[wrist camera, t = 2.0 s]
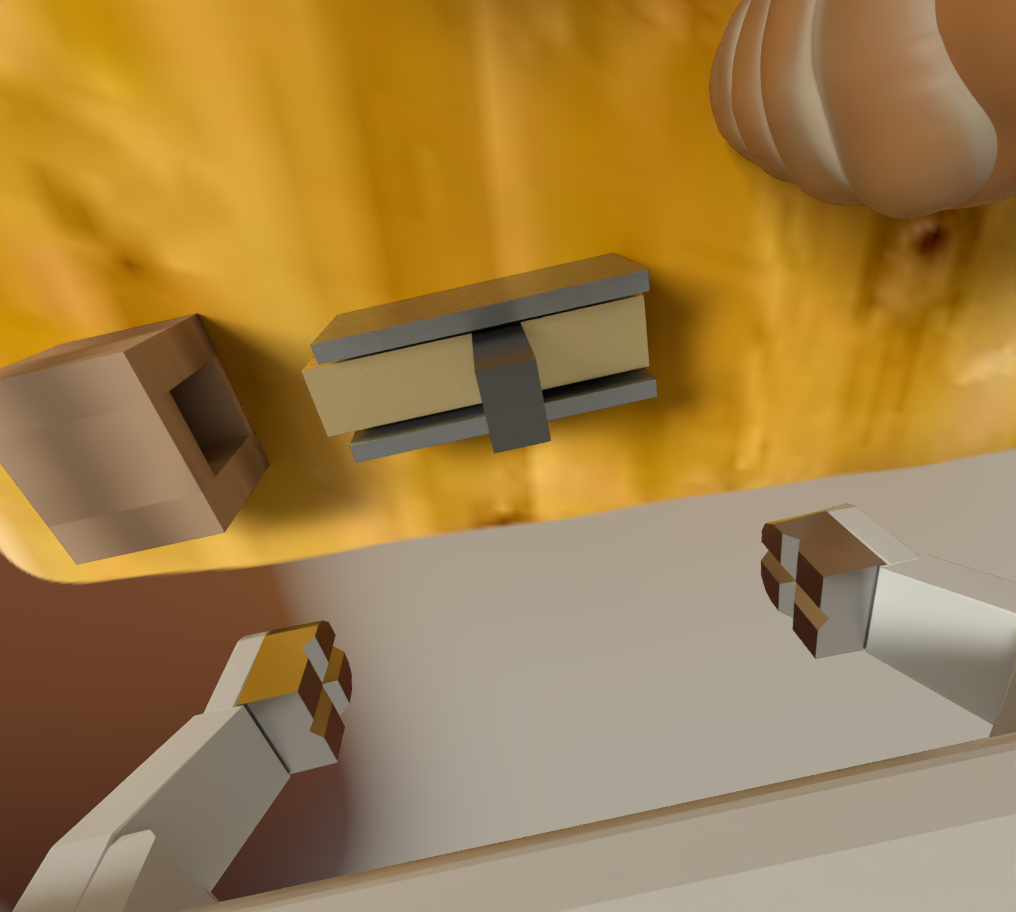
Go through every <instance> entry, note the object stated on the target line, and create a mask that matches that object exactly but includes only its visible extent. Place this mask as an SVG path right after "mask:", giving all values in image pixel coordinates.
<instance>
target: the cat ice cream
mask: <svg viewBox="0 0 1016 912" xmlns="http://www.w3.org/2000/svg"><path fill="white" fill-rule="evenodd" d="M709 93H710V101H711V107H712V111H713V114H714V117H715V120H716V123H717V127H718V130H719V131H720V133H721V134H722V136H723V137H725V138H726V139H727V141H728V142H729V144H730V146H731V147H732V148H734V149H735V150H736V151H737V152H738V153H739V154H741V155H742V156H743V157H744V158H746V159H748V160H749V161H751V162H753V163H756V164H758V165H759V166H760V167H761V168H762V169H763V170H764V171H765V172H766V173H768V174H769V175H771V176H772V177H774V178H776V179H779V180H782V181H786V182H793V183H797V185H798V186H799V187H800V188H801V189H802V190H803V191H804V192H805V193H806V194H808V195H810V196H812V197H814V198H816V199H818V200H821V201H824V202H826V203H829V204H834V205H867V206H869V207H870V208H871V209H873V210H874V211H876V212H878V213H880V214H882V215H885V216H888V217H891V218H898V219H910V218H917V217H922V216H926V215H929V214H933V213H936V212H939V211H942V210H953V209H963V208H970V207H976V206H981V205H986V204H990V203H994V202H997V201H1001V200H1004V199H1007V198H1009V197H1012V196H1015V195H1016V0H742V1H741V3H740V4H739V6H738V7H737V9H736V10H735V12H734V13H733V15H732V17H731V19H730V21H729V23H728V25H727V28H726V30H725V32H724V35H723V38H722V41H721V43H720V45H719V47H718V49H717V52H716V55H715V58H714V61H713V65H712V70H711V77H710V85H709Z"/></svg>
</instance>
